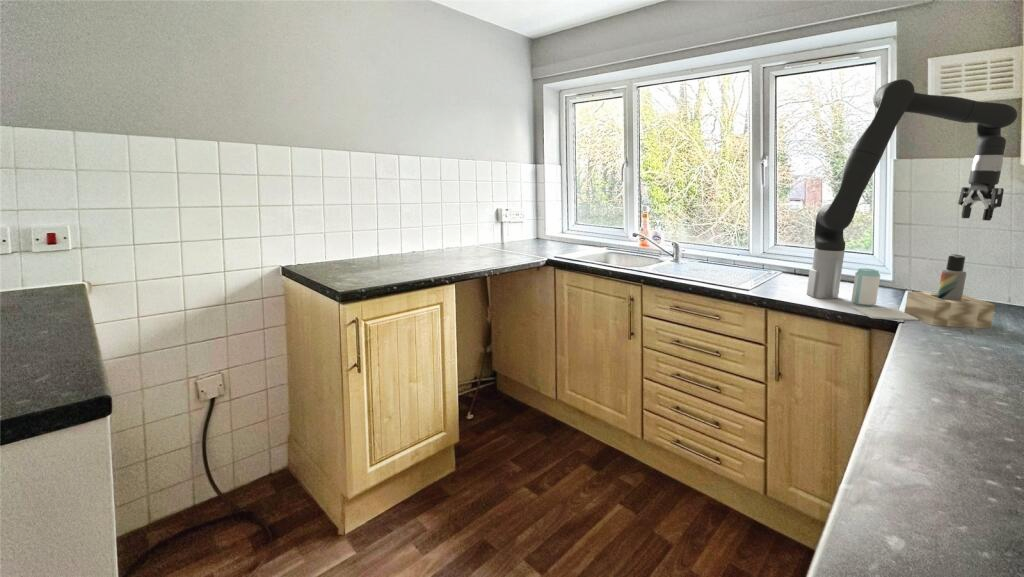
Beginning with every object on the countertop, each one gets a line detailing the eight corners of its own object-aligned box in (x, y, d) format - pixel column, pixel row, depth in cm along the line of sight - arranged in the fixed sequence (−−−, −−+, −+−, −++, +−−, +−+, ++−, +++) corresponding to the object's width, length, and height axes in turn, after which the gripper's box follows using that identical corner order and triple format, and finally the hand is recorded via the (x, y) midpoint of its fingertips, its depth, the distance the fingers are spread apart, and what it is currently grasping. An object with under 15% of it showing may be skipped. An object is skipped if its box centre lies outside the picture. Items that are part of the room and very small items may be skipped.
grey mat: (871, 318, 161) (871, 316, 161) (852, 308, 174) (852, 306, 174) (918, 320, 159) (919, 319, 159) (895, 310, 172) (896, 308, 171)
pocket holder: (932, 325, 154) (936, 302, 153) (904, 312, 168) (907, 291, 167) (990, 328, 151) (995, 304, 150) (956, 315, 166) (961, 293, 164)
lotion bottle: (952, 318, 162) (964, 254, 158) (960, 323, 156) (973, 256, 152) (930, 317, 164) (941, 253, 159) (937, 321, 158) (949, 255, 154)
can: (861, 301, 184) (866, 267, 182) (880, 305, 178) (886, 270, 175) (846, 302, 182) (851, 268, 180) (865, 307, 175) (870, 271, 173)
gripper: (957, 169, 180) (947, 217, 183) (992, 169, 166) (982, 220, 169) (979, 170, 179) (969, 218, 183) (1017, 169, 165) (1006, 221, 169)
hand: (975, 219), depth 176 cm, fingers open, 8 cm apart
